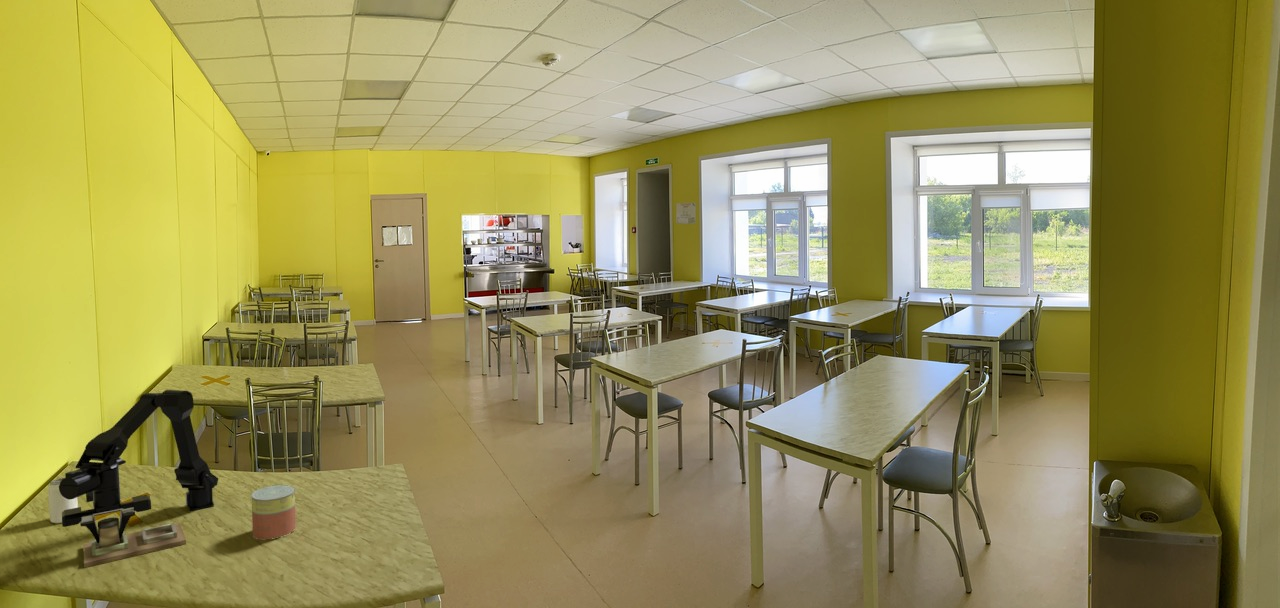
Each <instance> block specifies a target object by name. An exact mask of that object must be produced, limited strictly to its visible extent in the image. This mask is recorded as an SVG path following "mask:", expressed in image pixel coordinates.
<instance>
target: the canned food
mask: <svg viewBox="0 0 1280 608" xmlns="http://www.w3.org/2000/svg"><path fill="white" fill-rule="evenodd" d="M295 491H296V488H295V487H294V486H292V485H289V484H278V485H270V486H265V487H261V488H258V489H256V490H254V491H253V492H252V493H251V494H250V498H251V517H252V519H251V521H252V537H253V539H255V538H257V539H256V540H258V539H272V538H277V537H281V536H284V535H287V534H289V533H291V532H292V531H293V530H294V529H295V528H296V529H297V524H296V523H297V521H296V519H297V518H296V492H295Z"/></svg>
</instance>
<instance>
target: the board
mask: <svg viewBox="0 0 1280 608" xmlns="http://www.w3.org/2000/svg"><path fill="white" fill-rule="evenodd" d="M183 545H187V539H186V536H185V533H184V530H183V528H182V525H181V523H180V522H175V523H174V522H172V523H168V524H163V525H159V526H154V527H153V526H152V527H150V528H148V527H147V528H145V529H141V530H140V531H136V532H135V531H134V532H130V533H126V532H125V533H123V535H122V537H121V538H120V544H117V545H113V546H108V547H104V548H99V543H97V541H96V540H95V539H94V540H93V539H92V540H91V541H88V542H85V543H83V544H82V546H83V549H82V550H83V565H84V566H83V568H89V567H93V566H97V565H101V564H107V563H110V562H115V561H119V560H123V559H127V558H128V559H129V558H132V557H136V556H140V555H145V554H149V553H153V552H156V551H161V550H166V549H171V548H174V547H178V546H179V547H180V546H183Z"/></svg>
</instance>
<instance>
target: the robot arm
mask: <svg viewBox="0 0 1280 608" xmlns="http://www.w3.org/2000/svg"><path fill="white" fill-rule="evenodd" d="M194 406H195V405H194V396H193V393H192V392H191V391H189V390H179V389H177V390H176V389H165V390H164V391H162V392H153V393H152V392H146V393H143V394H141V395H140V397H139V400H137V402H136V403H135V404H134V405H133V406H131V408H130V409H129V410H128V411H126V413H125V414H124V415H123V416H122V417H121V418H120V419H119V420H118V421H117V422H116V423H115V424H114V425H113V426H112V427H111V428H110V429H108V430H106V431H104V432H101V433H99V434H98V435H96V436H95V437H93V438H92V439H91V440H89V441H88V443H87V444H86V446H85V447H84V448H85V449H84V451H83V452H82V455H81V456H80V458H79V459H78V462H77V463H76V466H75V469H76V470H73V471H72V470H71V471H68V472H65V474H64V475H65V477H63V478H64V479H63V480H62V481H61V482H60V485H59V491H60V493H61V495H62V496H63V497H64V498H66V499H74V498H77V499H78V498H79V497H81V496H84V495H85V499H86V500H85V501H86V503H90V502H92V505H93V506H92V507H93V508H90V509H86V510H82V507H81V506H80V507H79V506H78V508H73V509H67V510H64V511H63V512H62V523H61V524H62V527H64V528H66V527H71V526H77V525H79V524H80V527H86V528H87V529H88V531H89V532H90V533H91V535H92V537H93V538H94V540H96V541H97V543H99V534H98V525H97V522H96V518H95V516H101V515H106V514H111V513H115V512H116V513H117V512H120V516H119V517H120V518H119V538H121V537H122V535H123V534H124V531H125V530H126V526H127V525H128V522H129V521H130V520H131V517H134V516H136V513H141V512H147V511H150V510H152V501H151V498H150V495H148V494H143V495H142V494H141V495H136V496H132V497H131V501H127V502H122V501H121V485H120V469H119V466H121V465H125V464H126V462H127V461H126V460H124V459H122V458H121V456H122V454H123V453H124V452H125V451H126V449H127V448H128V443H129V439H130V438H131V437H132V436H133V435H134V433H136V431H137V430H138V429H139V428H140V427H141V426H142V425H143V424H144V423H145V421H146V420H148V419H149V418H150V417H151V415H152V414H153V413H154V412H155V411H156V410H157V409H158V408H160V411H161V412H162V414H164V415H165V416H166V417H167V418H168V419H169V421H170V423H171V427H172V431H173V436H174V439H175V443H176V447H177V451H178V455H179V459H180V462H179V464H178V466H177V467H176V468H175V469H174V470H173V471H174V474H175V481H178V483H179V484H180V485H181V489H187V491H186V492H185V505H186V508H188V510H189V511H196V510H200V509H206V508H210V507H214V506H215V503H214V501H213V500H214V499H213V498H214V497H213V489H215V487H216V486H218V484H219V483H218V482H219V478H218V477H217V476H216V475H215V474H213V473H212V472H211V469H210V467H209V465H208V463H207V462H206V461H205V460H204V458H202V457H201V456H200V453H199V449H198V444H197V440H196V436H195V430H194V428H193V424H192V419H191V414H192V412H193V409H194ZM96 461H97V462H96ZM98 461H99V462H98Z"/></svg>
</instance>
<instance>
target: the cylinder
mask: <svg viewBox="0 0 1280 608" xmlns="http://www.w3.org/2000/svg"><path fill="white" fill-rule="evenodd" d="M119 525H120V518H119V517H107V518H104V519H101V520H99V521H97V530H98V534H99V548H104V547H108V546H113V545H117V544H120V538H119Z"/></svg>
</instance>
